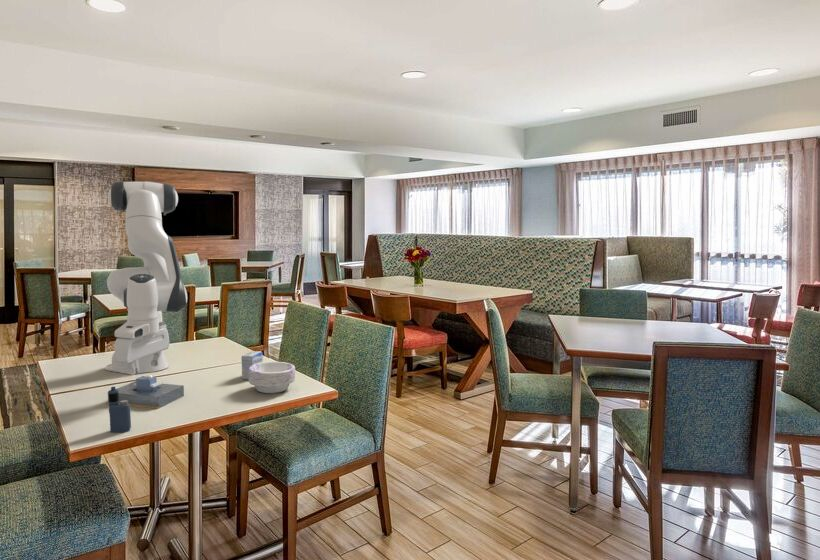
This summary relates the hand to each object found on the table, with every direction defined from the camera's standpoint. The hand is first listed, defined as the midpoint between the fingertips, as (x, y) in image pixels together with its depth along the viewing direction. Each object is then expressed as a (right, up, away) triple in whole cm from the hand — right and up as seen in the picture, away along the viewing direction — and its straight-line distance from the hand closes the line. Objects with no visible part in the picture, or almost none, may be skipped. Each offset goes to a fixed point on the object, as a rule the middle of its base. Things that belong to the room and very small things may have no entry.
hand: (144, 369), depth 170 cm
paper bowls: (+37, -9, +13) cm, 40 cm away
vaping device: (+6, -12, -25) cm, 29 cm away
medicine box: (+26, -7, +27) cm, 39 cm away
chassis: (+1, -10, 0) cm, 9 cm away
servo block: (+1, -10, 0) cm, 10 cm away
